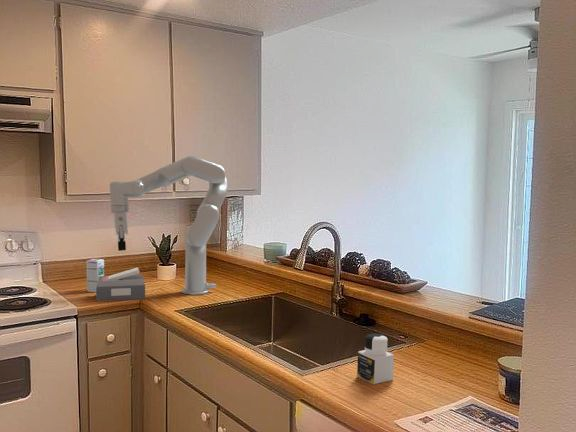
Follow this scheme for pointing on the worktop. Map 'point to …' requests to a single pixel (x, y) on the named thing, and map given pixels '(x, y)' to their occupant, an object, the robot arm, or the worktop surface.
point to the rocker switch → (121, 275)
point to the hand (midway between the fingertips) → (122, 250)
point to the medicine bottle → (375, 360)
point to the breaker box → (121, 288)
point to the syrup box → (94, 273)
